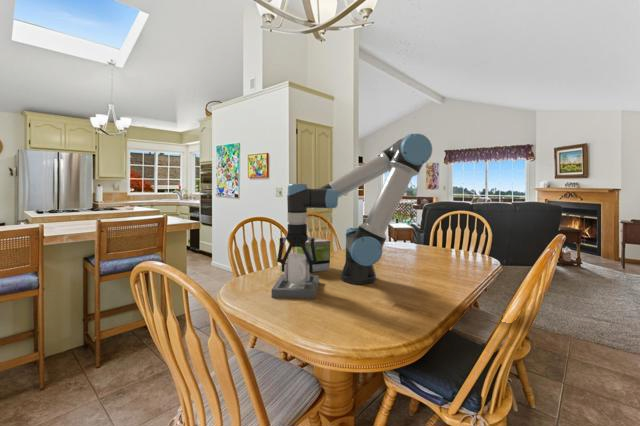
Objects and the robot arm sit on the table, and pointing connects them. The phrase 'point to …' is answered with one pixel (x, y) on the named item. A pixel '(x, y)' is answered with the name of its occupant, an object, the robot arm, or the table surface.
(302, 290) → the gray tray
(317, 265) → the tea box
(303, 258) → the mug
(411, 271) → the table surface
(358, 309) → the table surface
